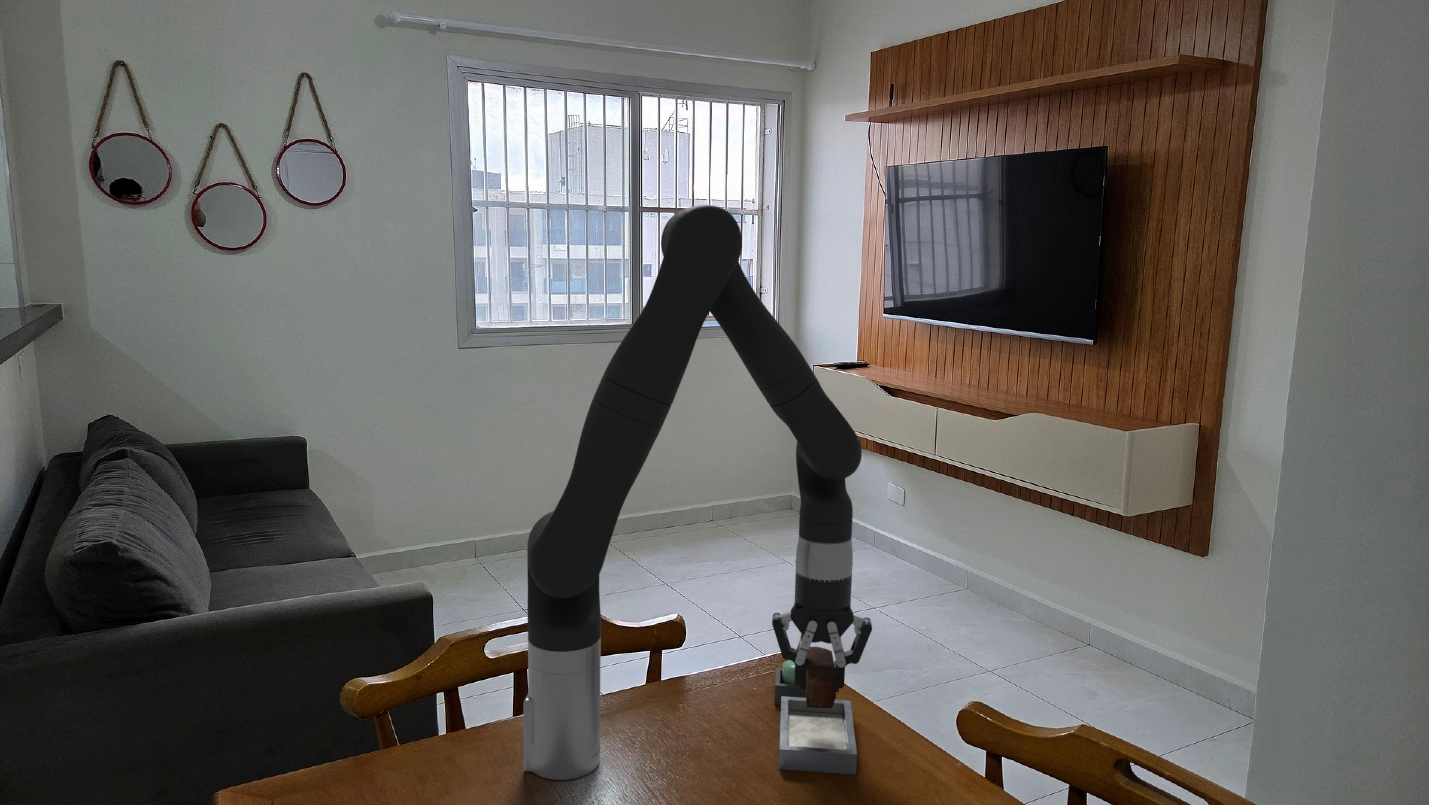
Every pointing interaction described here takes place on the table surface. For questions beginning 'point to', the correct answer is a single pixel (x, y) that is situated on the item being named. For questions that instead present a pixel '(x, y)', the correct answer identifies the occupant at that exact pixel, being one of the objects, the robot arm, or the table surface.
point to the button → (788, 672)
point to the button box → (785, 688)
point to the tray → (817, 737)
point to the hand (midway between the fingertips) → (819, 688)
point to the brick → (820, 678)
